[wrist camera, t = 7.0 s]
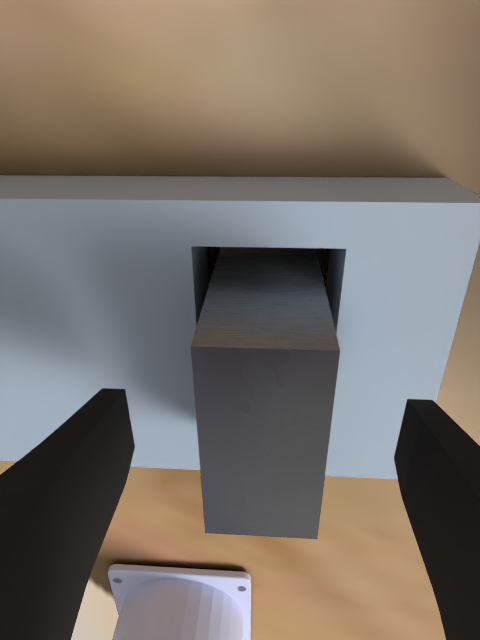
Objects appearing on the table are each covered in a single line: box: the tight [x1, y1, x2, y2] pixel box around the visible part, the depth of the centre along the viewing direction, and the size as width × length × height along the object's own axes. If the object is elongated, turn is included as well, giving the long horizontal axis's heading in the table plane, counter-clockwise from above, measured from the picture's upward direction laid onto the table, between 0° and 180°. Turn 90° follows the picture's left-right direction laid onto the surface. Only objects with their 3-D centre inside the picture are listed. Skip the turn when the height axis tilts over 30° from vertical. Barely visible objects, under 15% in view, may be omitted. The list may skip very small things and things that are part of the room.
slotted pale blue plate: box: [0, 175, 480, 479], centre depth 15 cm, size 10×17×3 cm, turn 91°
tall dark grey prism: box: [191, 247, 340, 539], centre depth 13 cm, size 6×3×7 cm, turn 1°
